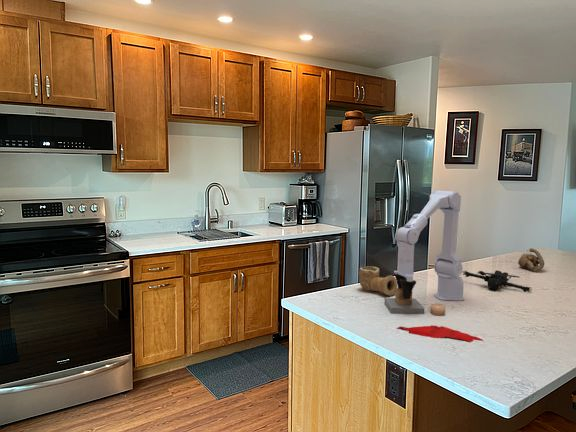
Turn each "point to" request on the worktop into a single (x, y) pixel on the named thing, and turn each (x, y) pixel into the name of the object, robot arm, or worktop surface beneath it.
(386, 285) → the pipe
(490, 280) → the toy
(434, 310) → the terracotta puck
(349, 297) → the worktop surface
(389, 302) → the slate base
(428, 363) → the worktop surface
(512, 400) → the worktop surface
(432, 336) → the cloth
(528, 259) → the tan lumpy piece
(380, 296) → the worktop surface
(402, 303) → the walnut cube
